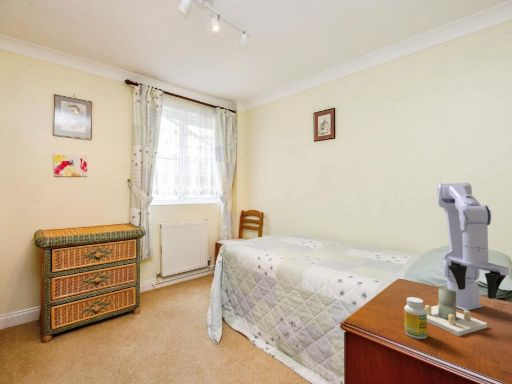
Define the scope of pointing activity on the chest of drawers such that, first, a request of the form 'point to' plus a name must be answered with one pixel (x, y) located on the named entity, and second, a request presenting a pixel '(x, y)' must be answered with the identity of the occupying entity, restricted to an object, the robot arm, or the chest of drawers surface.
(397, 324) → the chest of drawers surface
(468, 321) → the base plate
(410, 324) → the supplement bottle
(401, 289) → the chest of drawers surface
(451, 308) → the peg
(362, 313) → the chest of drawers surface
